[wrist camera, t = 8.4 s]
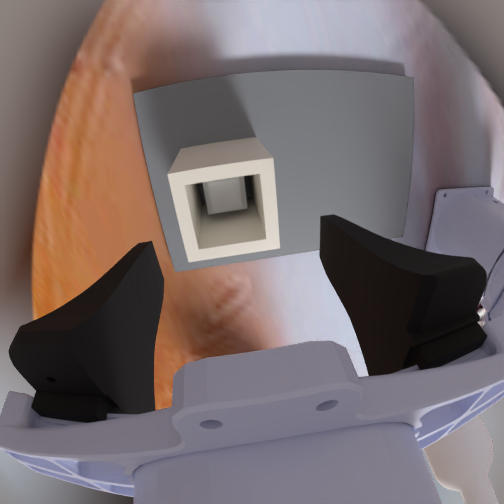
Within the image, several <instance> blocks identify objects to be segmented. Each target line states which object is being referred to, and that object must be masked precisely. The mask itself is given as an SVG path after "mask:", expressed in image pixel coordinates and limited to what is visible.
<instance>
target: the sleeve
mask: <svg viewBox="0 0 504 504" xmlns="http://www.w3.org/2000/svg"><path fill="white" fill-rule="evenodd" d="M247 175H250V180H251V189H252V198H247V207H248V209H243V210H236V211H229V212H223V213H216V214H210V215H208V210H207V205H202V203H201V198H200V192H199V187H198V183H201V182H207V181H213V180H220V179H226V178H233V177H240V176H247ZM168 179H169V184H170V188H171V193H172V197H173V201H174V206H175V210H176V214H177V219H178V223H179V227H180V231H181V235H182V239H183V243H184V247H185V251H186V254H187V258H188V262H195V261H202V260H208V259H215V258H221V257H228V256H234V255H241V254H247V253H254V252H260V251H266V250H273V249H279V248H280V239H279V224H278V210H277V196H276V183H275V171H274V159H273V157H272V156H271V154H270V153H269V152H268V151H267V149H266V148H265V147H264V146H263V145H262V143H261V142H260V141H259V140H258V139H257V137H253V138H245V139H237V140H230V141H223V142H216V143H210V144H204V145H198V146H192V147H187V148H182V149H180V151H179V153H178V155H177V157H176V159H175V161H174V163H173V164H172V166H171V168H170V170H169V172H168Z"/></svg>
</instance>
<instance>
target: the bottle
mask: <svg viewBox="0 0 504 504" xmlns="http://www.w3.org/2000/svg"><path fill="white" fill-rule="evenodd" d="M423 449H424V452H425V454H426V457H427V459H428V461H429V464H430V466H431V469H432V471H433V474H434V477H435V479H436V480H437V481H438V482H439V483H440V484H441V485H442V486H444V488H446V489H450V490H455V491H460V493H461V496H462V498H463V501H464V503H465V504H499V503H498V501H497V498H496V495H495V493H494V490H493V487H492V485H491V482H490V480H489V477H488V475H487V474H488V471H489V469H490V466H491V464H492V461H493V458H494V451H493V442H492V439H491V437H490V435H489V433H488V431H487V429H486V427H485V425H484V423H483V421H482V419H481V417H480V416H479V415H477V416H476V417H474V418H473V419H472V420H470V421H469V422H467V423H465V424H464V425H462V426H461V427H459V428H458V429H456V430H455V431H453V432H451V433H450V434H448V435H446V436H445V437H443V438H441V439H440V440H438V441H436V442H434V443H433V444H431V445H429V446H427V447H425V448H423Z"/></svg>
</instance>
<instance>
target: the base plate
mask: <svg viewBox="0 0 504 504" xmlns="http://www.w3.org/2000/svg"><path fill="white" fill-rule="evenodd" d="M133 96H134V102H135V108H136V113H137V119H138V124H139V129H140V134H141V139H142V144H143V149H144V154H145V158H146V163H147V167H148V172H149V176H150V180H151V185H152V189H153V193H154V197H155V201H156V205H157V209H158V213H159V216H160V220H161V224H162V228H163V231H164V235H165V239H166V242H167V246H168V249H169V253H170V256H171V259H172V263H173V266H174V270H175V272H179V271H186V270H193V269H199V268H206V267H213V266H219V265H226V264H232V263H239V262H245V261H252V260H258V259H265V258H271V257H278V256H284V255H290V254H297V253H303V252H309V251H316V250H320V216H324V215H332V214H334V215H337V216H340V217H342V218H344V219H346V220H348V221H350V222H352V223H354V224H356V225H358V226H361V227H363V228H365V229H367V230H369V231H371V232H373V233H375V234H378V235H380V236H382V237H385V238H387V239H390V238H396V237H402V236H403V232H404V226H405V220H406V213H407V205H408V197H409V189H410V179H411V168H412V155H413V136H414V77H407V76H400V75H392V74H384V73H374V72H362V71H346V70H280V71H263V72H251V73H241V74H232V75H224V76H216V77H209V78H203V79H197V80H191V81H186V82H181V83H176V84H171V85H166V86H162V87H157V88H153V89H149V90H145V91H141V92H137V93H133ZM253 137H257V139H258V140H259V141H260V142H261V143H262V145H263V146H264V147H265V148H266V149H267V151H268V152H269V153H270V154H271V156H272V157H273V159H274V171H275V183H276V196H277V210H278V224H279V239H280V248H279V249H273V250H266V251H260V252H254V253H247V254H241V255H234V256H228V257H221V258H215V259H208V260H202V261H195V262H188V258H187V254H186V251H185V247H184V243H183V239H182V235H181V231H180V227H179V223H178V219H177V214H176V210H175V206H174V201H173V197H172V193H171V188H170V184H169V179H168V172H169V170H170V168H171V166H172V164H173V163H174V161H175V159H176V157H177V155H178V153H179V151H180V149H182V148H187V147H192V146H198V145H204V144H210V143H216V142H223V141H230V140H237V139H245V138H253ZM198 187H199V192H200V198H201V203H202V205H207V210H208V215H210V214H216V213H223V212H229V211H236V210H243V209H248V207H247V198H252V189H251V180H250V175H247V176H240V177H233V178H226V179H220V180H213V181H207V182H201V183H198Z"/></svg>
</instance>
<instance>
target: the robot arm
mask: <svg viewBox="0 0 504 504" xmlns="http://www.w3.org/2000/svg"><path fill="white" fill-rule="evenodd" d="M493 193H494V189H493V188H492V187H471V188H453V189H440V190H438V191H437V193H436V198H435V204H434V210H433V216H432V221H431V226H430V231H429V236H428V241H427V245H426V250H421V249H417V248H413V247H410V246H406V245H403V244H400V243H398V242H395V241H392V240H389V239H387V238H385V237H382V236H380V235H378V234H375V233H373V232H371V231H369V230H367V229H365V228H363V227H361V226H358V225H356V224H354V223H352V222H350V221H348V220H346V219H344V218H342V217H340V216H337V215H334V214H332V215H324V216H320V259H321V262H322V264H323V267H324V270H325V272H326V275H327V276H328V278H329V280H330V282H331V284H332V286H333V287H334V289H335V291H336V293H337V295H338V296H339V298H340V300H341V302H342V304H343V306H344V307H345V309H346V311H347V313H348V315H349V317H350V320H351V322H352V325H353V328H354V330H355V333H356V336H357V339H358V341H359V344H360V347H361V350H362V353H363V357H364V360H365V364H366V367H367V371H368V374H369V376H366V377H358V375H357V373H356V370H355V368H354V366H353V363H352V361H351V359H350V356H349V354H348V352H347V349H346V348H345V347H343V346H341V345H339V344H337V343H335V342H333V341H309V342H304V343H298V344H293V345H288V346H282V347H277V348H271V349H265V350H258V351H252V352H245V353H238V354H231V355H223V356H215V357H207V358H204V359H200V360H197V361H193V362H190V363H187V364H185V365H184V366H183V367H182V368H181V369H179V370H178V371H177V372H176V373H175V374H174V378H173V395H172V407H169V408H164V409H160V410H156V411H155V397H154V350H155V341H156V335H157V329H158V324H159V319H160V313H161V308H162V303H163V294H164V277H163V274H162V271H161V268H160V265H159V262H158V259H157V256H156V253H155V249H154V246H153V243H152V241H149V242H143V243H138V244H137V245H136V246H134V247H133V248H132V249H131V250H130V251H129V252H128V253H127V254H126V255H125V256H124V257H123V258H122V259H120V260H119V261H118V262H117V263H116V264H115V265H114V266H113V267H112V268H111V269H110V270H109V271H108V272H107V273H105V274H104V275H103V276H102V277H101V278H100V279H99V280H98V281H97V282H95V283H94V284H93V285H92V286H90V287H89V288H88V289H87V290H85V291H84V292H83V293H81V294H80V295H78V296H77V297H75V298H74V299H72V300H71V301H69V302H68V303H66V304H65V305H63V306H61V307H60V308H58V309H56V310H54V311H53V312H51V313H49V314H47V315H45V316H43V317H41V318H39V319H36V320H34V321H32V322H30V323H27V324H25V325H22V326H20V328H19V330H18V332H17V334H16V336H15V337H14V339H13V341H12V343H11V345H10V348H9V356H10V359H11V361H12V363H13V365H14V366H15V368H16V369H17V370H18V371H19V373H20V374H21V375H22V376H23V377H24V378H25V379H26V380H27V381H28V383H29V384H30V385H31V386H33V388H34V389H35V390H36V393H35V397H32V396H30V395H28V394H25V393H18V392H12V391H10V392H8V395H7V398H6V401H5V403H4V406H3V409H2V413H1V415H0V449H1V450H2V451H4V452H5V453H7V454H8V455H9V456H11V457H12V458H14V459H15V460H17V461H19V462H20V463H22V464H23V465H25V466H27V467H28V468H30V469H32V470H33V471H35V472H38V473H41V474H44V475H47V476H51V477H54V478H57V479H60V480H64V481H67V482H70V483H74V484H78V485H81V486H85V487H89V488H92V489H97V490H101V491H105V492H110V493H114V494H119V495H125V496H131V497H134V504H442V503H441V500H440V498H439V495H438V492H437V489H436V487H435V484H434V481H433V479H432V476H431V473H430V471H429V468H428V466H427V463H426V461H425V458H424V456H423V453H422V451H421V450H422V449H423V448H425V447H427V446H429V445H431V444H433V443H434V442H436V441H438V440H440V439H441V438H443V437H445V436H446V435H448V434H450V433H451V432H453V431H455V430H456V429H458V428H459V427H461V426H462V425H464V424H465V423H467V422H469V421H470V420H472V419H473V418H474V417H476V416H477V415H479V414H480V413H482V412H483V411H485V410H486V409H488V408H489V407H490V406H492V405H493V404H495V403H496V402H497V401H499V400H500V399H502V398H503V397H504V204H503V203H502V202H500V201H499V200H497V199H496V198H494V197H493ZM443 195H444V196H443ZM482 296H483V297H484V299H483V301H482V303H481V305H482V306H483V307H484V308H485V309H486V311H487V312H486V314H485V317H484V321H485V325H484V326H483V327H482V328H481V327H480V325H479V324H478V323H477V322H478V321H479V319H480V316H479V315H478V314H477V313H476V311H475V310H476V308H477V306H478V304H479V302H480V299H481V297H482Z"/></svg>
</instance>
